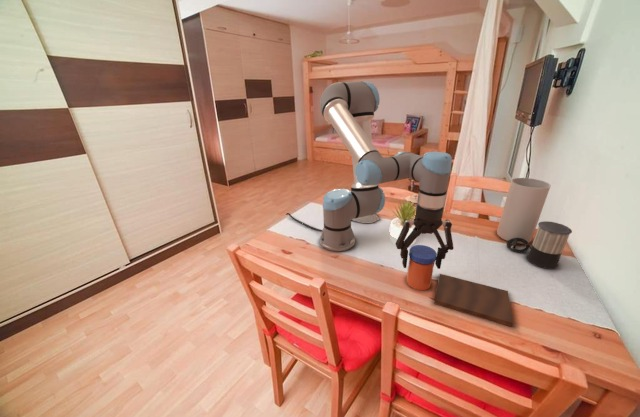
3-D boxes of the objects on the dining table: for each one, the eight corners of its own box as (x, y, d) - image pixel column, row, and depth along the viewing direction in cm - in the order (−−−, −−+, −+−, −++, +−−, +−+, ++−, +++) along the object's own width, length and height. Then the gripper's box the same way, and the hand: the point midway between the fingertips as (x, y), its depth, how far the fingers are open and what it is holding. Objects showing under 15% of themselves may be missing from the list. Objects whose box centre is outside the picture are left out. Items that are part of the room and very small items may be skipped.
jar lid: (413, 247, 91) (414, 242, 90) (438, 254, 86) (439, 249, 86) (405, 258, 85) (405, 253, 84) (431, 267, 80) (432, 262, 80)
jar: (404, 285, 89) (408, 257, 84) (408, 272, 95) (412, 245, 90) (428, 293, 85) (434, 263, 80) (431, 278, 91) (436, 250, 87)
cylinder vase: (520, 247, 107) (539, 190, 96) (490, 234, 117) (504, 181, 106) (537, 239, 112) (557, 184, 101) (506, 227, 122) (522, 176, 112)
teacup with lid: (417, 220, 131) (420, 199, 126) (400, 215, 137) (402, 195, 132) (426, 212, 139) (429, 192, 134) (409, 208, 145) (412, 188, 140)
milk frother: (559, 272, 92) (575, 236, 86) (505, 259, 100) (516, 225, 94) (553, 252, 103) (566, 219, 97) (505, 242, 111) (515, 210, 105)
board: (434, 303, 81) (434, 299, 80) (438, 276, 92) (439, 273, 92) (511, 327, 72) (513, 323, 72) (506, 294, 83) (507, 290, 83)
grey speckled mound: (346, 203, 152) (346, 193, 149) (384, 217, 137) (385, 206, 134) (329, 215, 143) (328, 204, 139) (368, 231, 128) (368, 219, 124)
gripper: (464, 200, 80) (451, 259, 90) (389, 200, 82) (384, 258, 92) (475, 210, 74) (460, 273, 83) (393, 210, 76) (387, 272, 85)
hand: (420, 265), depth 87 cm, fingers open, 10 cm apart
